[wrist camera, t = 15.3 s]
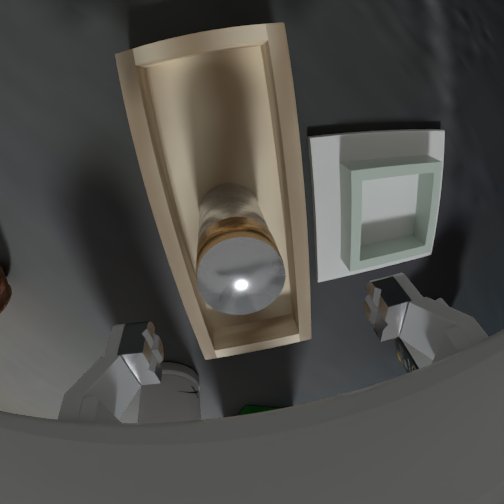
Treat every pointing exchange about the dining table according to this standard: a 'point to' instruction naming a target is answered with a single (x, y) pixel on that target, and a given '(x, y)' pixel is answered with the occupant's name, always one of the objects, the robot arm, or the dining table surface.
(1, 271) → the tin
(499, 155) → the dining table surface
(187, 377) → the travel mug
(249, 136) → the trough
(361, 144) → the checker cradle
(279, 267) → the cell
